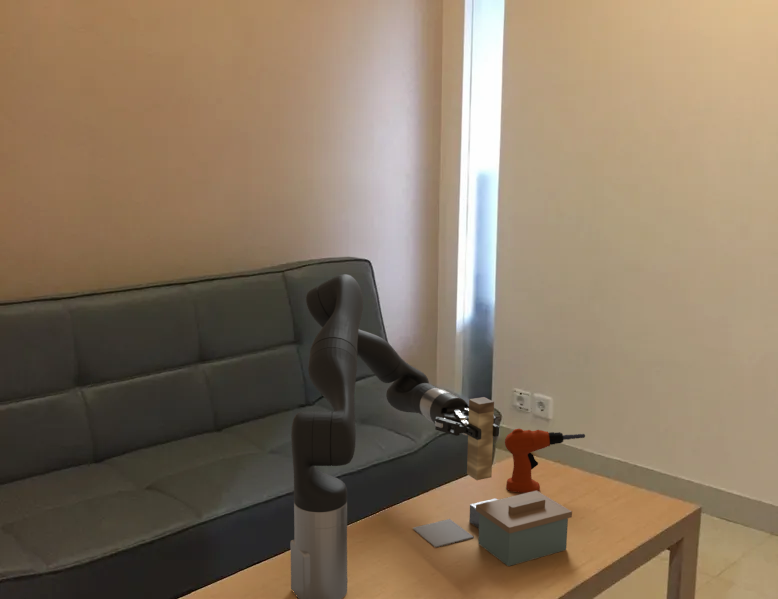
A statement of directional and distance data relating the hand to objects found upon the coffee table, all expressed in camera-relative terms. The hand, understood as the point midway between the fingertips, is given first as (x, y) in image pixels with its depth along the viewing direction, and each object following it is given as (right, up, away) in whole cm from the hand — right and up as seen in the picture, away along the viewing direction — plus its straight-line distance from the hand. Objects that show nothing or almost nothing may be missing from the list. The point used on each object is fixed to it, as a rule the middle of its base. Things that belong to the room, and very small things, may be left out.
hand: (488, 433), depth 165 cm
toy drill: (+16, -17, +26) cm, 35 cm away
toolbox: (+7, -22, -1) cm, 23 cm away
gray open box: (+2, -21, +8) cm, 22 cm away
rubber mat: (-9, -21, +4) cm, 23 cm away
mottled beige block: (-1, -9, +4) cm, 10 cm away
